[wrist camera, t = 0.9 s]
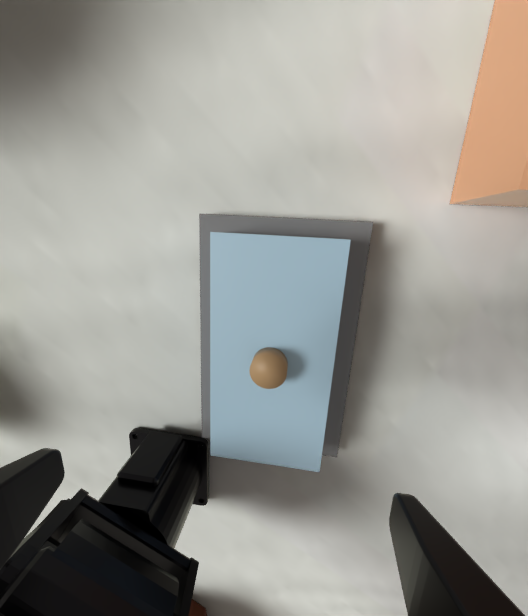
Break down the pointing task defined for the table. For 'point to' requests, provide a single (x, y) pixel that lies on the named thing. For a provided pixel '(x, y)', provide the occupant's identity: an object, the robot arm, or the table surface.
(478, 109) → the orange open box
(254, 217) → the mat
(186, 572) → the robot arm
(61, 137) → the table surface
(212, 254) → the lid
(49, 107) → the table surface
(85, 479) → the table surface
